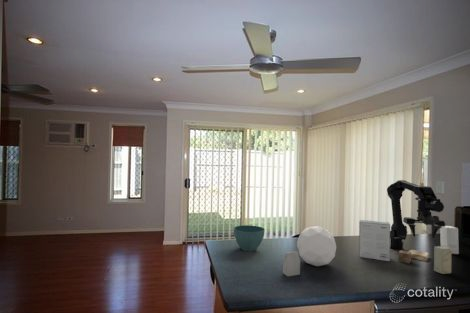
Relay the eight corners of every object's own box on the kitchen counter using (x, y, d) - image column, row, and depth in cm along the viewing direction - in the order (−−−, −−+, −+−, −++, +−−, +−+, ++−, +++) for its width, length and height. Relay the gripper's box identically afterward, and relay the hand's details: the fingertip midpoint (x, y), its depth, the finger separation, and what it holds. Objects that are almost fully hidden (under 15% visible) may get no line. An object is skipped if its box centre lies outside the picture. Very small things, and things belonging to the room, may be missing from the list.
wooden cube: (398, 261, 152) (398, 252, 152) (400, 259, 156) (400, 250, 156) (409, 263, 149) (409, 254, 149) (410, 261, 153) (411, 252, 153)
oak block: (407, 257, 160) (407, 252, 160) (410, 254, 166) (410, 249, 167) (426, 262, 154) (426, 256, 154) (428, 258, 160) (428, 253, 161)
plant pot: (228, 251, 159) (228, 229, 159) (239, 243, 176) (240, 223, 176) (258, 256, 152) (259, 233, 153) (267, 247, 169) (268, 227, 169)
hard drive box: (389, 257, 157) (389, 222, 158) (390, 261, 151) (390, 224, 151) (358, 253, 164) (359, 219, 165) (358, 257, 157) (359, 221, 158)
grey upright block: (299, 274, 129) (300, 252, 129) (287, 276, 126) (288, 254, 126) (294, 271, 132) (295, 250, 132) (282, 273, 129) (283, 251, 130)
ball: (304, 276, 144) (284, 240, 152) (333, 258, 151) (312, 225, 159) (321, 270, 128) (297, 230, 136) (352, 250, 135) (327, 214, 143)
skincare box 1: (459, 254, 168) (459, 228, 169) (446, 253, 170) (446, 227, 170) (451, 250, 176) (451, 225, 177) (439, 249, 178) (439, 224, 178)
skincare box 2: (442, 274, 135) (442, 248, 135) (433, 270, 139) (433, 246, 140) (451, 273, 137) (452, 248, 137) (442, 269, 141) (443, 245, 141)
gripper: (411, 210, 149) (410, 239, 149) (451, 212, 145) (450, 242, 145) (403, 207, 160) (402, 234, 159) (440, 209, 156) (439, 237, 155)
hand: (423, 237), depth 154 cm, fingers open, 9 cm apart
